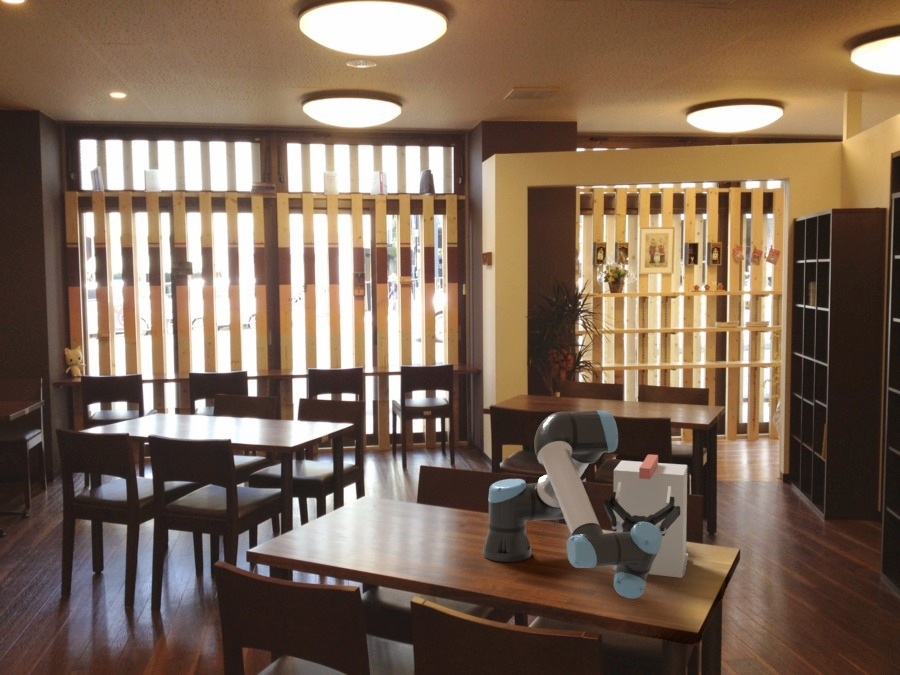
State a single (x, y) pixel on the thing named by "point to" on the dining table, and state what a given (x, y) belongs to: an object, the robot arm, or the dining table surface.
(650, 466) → the lever bar
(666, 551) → the white upright block
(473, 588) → the dining table surface
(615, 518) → the robot arm
